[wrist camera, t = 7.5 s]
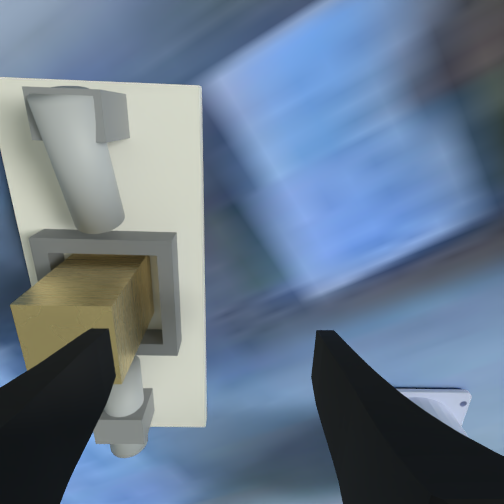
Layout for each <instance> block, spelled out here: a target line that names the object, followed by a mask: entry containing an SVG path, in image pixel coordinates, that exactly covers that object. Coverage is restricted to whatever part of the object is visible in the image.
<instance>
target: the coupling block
mask: <svg viewBox="0 0 504 504" xmlns="http://www.w3.org/2000/svg"><path fill="white" fill-rule="evenodd" d="M10 307H11V310H12V314H13V318H14V322H15V326H16V330H17V334H18V337H19V341H20V345H21V349H22V353H23V357H24V360H25V364H26V368H27V371H28V370H29V369H31V368H33V367H34V366H36V365H37V364H39V363H40V362H42V361H43V360H45V359H46V358H48V357H49V356H51V355H52V354H53V353H55V352H56V351H58V350H59V349H61V348H62V347H64V346H65V345H67V344H68V343H69V342H71V341H72V340H74V339H75V338H77V337H78V336H80V335H81V334H83V333H84V332H86V331H87V330H89V329H91V328H109V333H110V340H111V346H112V353H113V359H114V366H115V372H116V378H115V381H114V384H122V383H123V381H124V379H125V376H126V374H127V372H128V370H129V367H130V365H131V363H132V361H133V359H134V356H135V354H136V352H137V350H138V348H139V345H140V343H141V341H142V339H143V336H144V334H145V332H146V330H147V328H148V325H149V323H150V321H151V319H152V317H153V314H154V303H153V291H152V278H151V266H150V255H114V254H74V253H73V254H72V255H70V256H69V257H68V258H67V259H66V260H64V261H63V262H62V263H61V264H59V265H58V266H57V267H56V268H54V269H53V270H52V271H51V272H50V273H48V274H47V275H46V276H45V277H43V278H42V279H41V280H40V281H39V282H37V283H36V284H35V285H34V286H32V287H31V288H30V289H29V290H27V291H26V292H25V293H24V294H23V295H21V296H20V297H19V298H18V299H16V300H15V301H14V302H13V303H11V304H10Z"/></svg>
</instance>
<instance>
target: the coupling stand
mask: <svg viewBox="0 0 504 504" xmlns="http://www.w3.org/2000/svg"><path fill="white" fill-rule="evenodd" d="M0 150H1V154H2V159H3V163H4V168H5V172H6V176H7V181H8V185H9V190H10V194H11V198H12V203H13V207H14V212H15V216H16V221H17V225H18V229H19V234H20V238H21V243H22V247H23V252H24V256H25V260H26V265H27V269H28V274H29V278H30V283H31V287H32V286H34V285H35V284H36V283H37V282H39V281H40V280H41V279H42V278H43V277H45V276H46V275H47V274H48V273H50V272H51V271H52V270H53V269H54V268H56V267H57V266H58V265H59V264H61V263H62V262H63V261H64V260H66V259H67V258H68V257H69V256H70V255H72V254H73V253H74V254H114V255H150V266H151V278H152V291H153V303H154V314H153V317H152V319H151V321H150V323H149V325H148V328H147V330H146V332H145V334H144V336H143V339H142V341H141V343H140V345H139V348H138V350H137V352H136V354H135V356H134V359H133V361H132V363H131V365H130V367H129V370H128V372H127V374H126V376H125V379H124V381H123V383H122V384H113V387H112V390H111V393H110V396H109V398H108V401H107V404H106V406H105V408H104V410H103V412H102V414H101V416H100V418H99V420H98V423H97V425H96V427H95V429H94V437H95V442H96V444H110V448H111V451H112V453H113V454H114V455H115V456H117V457H119V458H129V457H132V456H134V455H136V454H138V453H139V452H141V451H142V450H143V449H144V447H145V446H146V444H147V441H148V431H149V428H150V427H206V420H207V385H206V322H205V259H204V196H203V133H202V87H201V86H197V85H174V84H150V83H126V82H102V81H79V80H55V79H31V78H8V77H0Z"/></svg>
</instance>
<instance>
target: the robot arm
mask: <svg viewBox="0 0 504 504" xmlns="http://www.w3.org/2000/svg"><path fill="white" fill-rule="evenodd" d="M115 378H116V372H115V366H114V359H113V353H112V346H111V340H110V333H109V328H91V329H89V330H87V331H86V332H84V333H83V334H81V335H80V336H78V337H77V338H75V339H74V340H72V341H71V342H69V343H68V344H67V345H65V346H64V347H62V348H61V349H59V350H58V351H56V352H55V353H53V354H52V355H51V356H49V357H48V358H46V359H45V360H43V361H42V362H40V363H39V364H37V365H36V366H34V367H33V368H31V369H29V370H28V371H26V372H25V373H23V374H21V375H20V376H18V377H17V378H15V379H14V380H12V381H10V382H9V383H7V384H5V385H4V386H2V387H0V504H60V502H61V500H62V497H63V494H64V492H65V489H66V487H67V484H68V482H69V480H70V477H71V475H72V473H73V471H74V469H75V467H76V465H77V463H78V461H79V459H80V457H81V455H82V453H83V451H84V449H85V447H86V445H87V443H88V441H89V439H90V437H91V435H92V433H93V431H94V429H95V427H96V425H97V423H98V420H99V418H100V416H101V414H102V412H103V410H104V408H105V406H106V404H107V401H108V398H109V396H110V393H111V390H112V387H113V384H114V381H115ZM311 378H312V384H313V390H314V396H315V401H316V406H317V410H318V413H319V416H320V420H321V423H322V427H323V430H324V433H325V437H326V440H327V443H328V446H329V450H330V453H331V456H332V460H333V463H334V466H335V470H336V474H337V478H338V482H339V486H340V491H341V496H342V501H343V504H504V456H502V455H500V454H498V453H496V452H494V451H492V450H490V449H488V448H487V447H485V446H483V445H481V444H479V443H477V442H475V441H474V440H472V439H470V438H469V437H468V435H467V434H466V432H465V431H464V430H463V428H462V427H461V426H462V423H463V421H464V418H465V415H466V412H467V409H468V406H469V404H470V401H471V398H472V396H471V394H470V393H469V392H468V391H467V390H459V389H395V388H394V387H393V386H392V385H391V384H389V383H388V382H387V381H386V380H385V379H383V378H382V377H381V376H380V375H379V374H378V373H377V372H375V371H374V370H373V369H372V368H371V367H370V366H369V365H368V364H367V363H366V362H365V361H364V360H363V359H362V358H361V357H360V356H359V355H358V354H357V353H356V352H355V351H354V350H353V349H352V348H351V347H350V346H349V345H348V344H347V343H346V342H345V341H344V340H343V339H342V338H341V337H340V336H339V335H338V334H337V333H336V332H335V331H334V330H317V331H316V340H315V349H314V358H313V367H312V376H311Z"/></svg>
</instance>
